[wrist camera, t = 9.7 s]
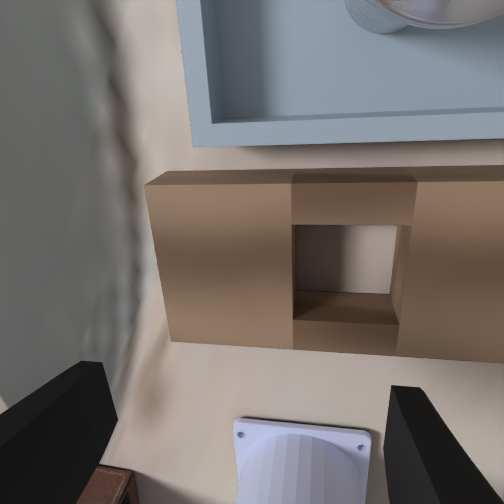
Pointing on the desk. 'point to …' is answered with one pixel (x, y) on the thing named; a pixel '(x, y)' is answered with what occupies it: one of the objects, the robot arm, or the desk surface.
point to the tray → (334, 76)
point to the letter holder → (110, 487)
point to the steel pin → (421, 13)
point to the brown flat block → (333, 303)
